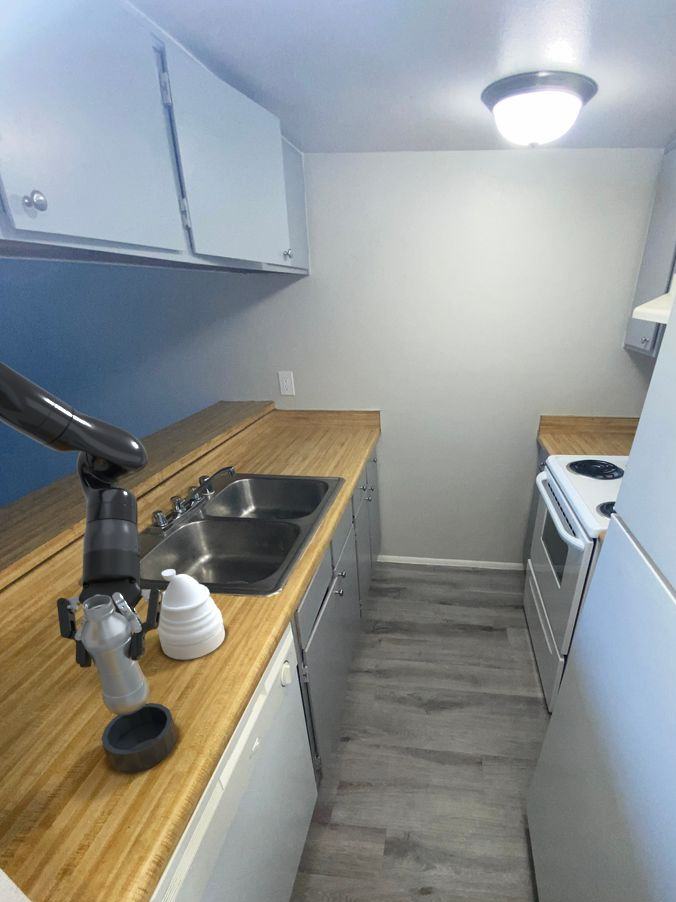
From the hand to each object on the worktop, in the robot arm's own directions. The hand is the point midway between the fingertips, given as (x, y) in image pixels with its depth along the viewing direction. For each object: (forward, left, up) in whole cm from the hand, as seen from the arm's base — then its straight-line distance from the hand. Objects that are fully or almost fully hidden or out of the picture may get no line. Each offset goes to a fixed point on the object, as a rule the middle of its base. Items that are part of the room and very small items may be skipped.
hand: (111, 663), depth 69 cm
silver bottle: (0, +2, -10) cm, 11 cm away
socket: (0, +2, -20) cm, 20 cm away
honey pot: (+5, +29, -20) cm, 35 cm away
